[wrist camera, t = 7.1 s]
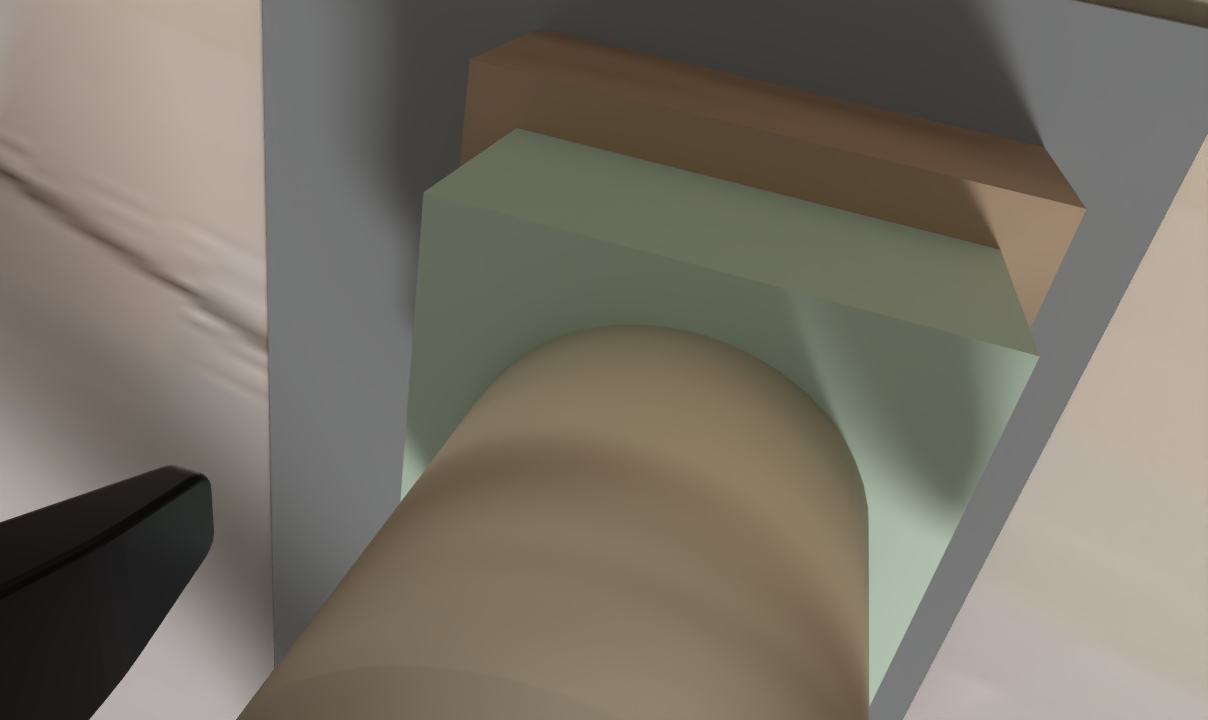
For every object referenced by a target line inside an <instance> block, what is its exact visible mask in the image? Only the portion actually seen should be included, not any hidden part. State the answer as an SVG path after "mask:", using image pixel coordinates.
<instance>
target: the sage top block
mask: <svg viewBox="0 0 1208 720" xmlns="http://www.w3.org/2000/svg"><path fill="white" fill-rule="evenodd" d="M611 325H649V326H659V327H670V328H675V329H679V330H684V331H688V332H693V333H698V334H701V335H704V336H707V337H710V338H713V339H716V340H719V341H722V342H725V343H728V344H730V345H732V346H734V347H736V348H739V349H741V350H743V351H745V352H747V353H749V354H751V355H753V356H755V357H757V358H759V359H760V360H762V361H764V362H765V363H767V364H768V365H770V366H772V367H773V368H775V369H776V370H778V371H779V372H781V373H783V374H784V375H785V376H786V377H788V378H789V379H790V380H791V381H792V382H794V383H795V384H796V385H797V386H799V387H800V388H801V389H802V390H803V391H805V392H806V393H807V394H808V395H809V396H810V397H811V398H812V399H813V400H814V402H815V403H816V404H817V405H818V406H819V407H820V408H821V409H822V410H823V411H824V412H825V413H826V414H827V416H828V417H829V418H830V420H831V421H832V423H833V424H834V425H835V427H836V428H837V429H838V431H839V432H840V434H841V435H842V436H843V438H844V440H845V442H846V444H847V446H848V448H849V449H850V451H851V453H852V455H853V457H854V459H855V461H856V464H857V467H858V470H859V472H860V475H861V478H862V481H863V484H864V488H865V494H866V499H867V505H868V521H869V707H870V705H871V702H872V700H873V698H874V696H875V694H876V692H877V690H878V688H879V686H880V684H881V682H882V680H883V678H884V676H885V674H886V672H887V670H888V668H889V665H890V663H891V661H892V659H893V657H894V655H895V653H896V651H897V649H898V647H899V645H900V643H901V641H902V639H903V637H904V635H905V633H906V631H907V628H908V626H909V624H910V622H911V620H912V618H913V616H914V614H915V612H916V610H917V608H918V606H919V604H920V602H921V600H922V598H923V596H924V594H925V591H926V589H927V587H928V585H929V583H930V581H931V579H932V577H933V575H934V573H935V571H936V569H937V567H938V565H939V563H940V561H941V559H942V557H943V554H944V552H945V550H946V548H947V546H948V544H949V542H950V540H951V538H952V536H953V534H954V532H955V530H956V528H957V526H958V524H959V522H960V520H961V517H962V515H963V513H964V511H965V509H966V507H967V505H968V503H969V501H970V499H971V497H972V495H973V493H974V491H975V489H976V487H977V485H978V483H979V480H980V478H981V476H982V474H983V472H984V470H985V468H986V466H987V464H988V462H989V460H990V458H991V456H992V454H993V452H994V450H995V448H996V446H997V443H998V441H999V439H1000V437H1001V435H1002V433H1003V431H1004V429H1005V427H1006V425H1007V423H1008V421H1009V419H1010V417H1011V415H1012V413H1013V411H1014V409H1015V406H1016V404H1017V402H1018V400H1019V398H1020V396H1021V394H1022V392H1023V390H1024V388H1025V386H1026V384H1027V382H1028V380H1029V378H1030V376H1031V374H1032V372H1033V369H1034V367H1035V365H1036V363H1037V361H1038V359H1039V357H1040V356H1039V353H1038V350H1037V347H1036V345H1035V342H1034V339H1033V337H1032V334H1031V331H1030V328H1029V326H1028V323H1027V320H1026V318H1025V315H1024V312H1023V309H1022V307H1021V304H1020V301H1019V299H1018V296H1017V293H1016V290H1015V288H1014V285H1013V282H1012V280H1011V277H1010V274H1009V271H1008V269H1007V266H1006V263H1005V261H1004V258H1003V255H1002V252H1001V250H1000V249H996V248H992V247H988V246H984V245H980V244H976V243H972V242H968V241H964V240H960V239H956V238H952V237H948V236H944V235H940V234H936V233H932V232H928V231H924V230H920V229H916V228H912V227H908V226H904V225H900V224H896V223H892V222H888V221H884V220H880V219H877V218H873V217H869V216H865V215H861V214H857V213H853V212H849V211H845V210H841V209H837V208H833V207H829V206H825V205H821V204H817V203H813V202H809V201H805V200H801V199H797V198H793V197H789V196H785V195H781V194H777V193H773V192H769V191H765V190H761V189H757V188H753V187H749V186H746V185H742V184H738V183H734V182H730V181H726V180H722V179H718V178H714V177H710V176H706V175H702V174H698V173H694V172H690V171H686V170H682V169H678V168H674V167H670V166H666V165H662V164H658V163H654V162H650V161H646V160H642V159H638V158H634V157H630V156H626V155H622V154H618V153H615V152H611V151H607V150H603V149H599V148H595V147H591V146H587V145H583V144H579V143H575V142H571V141H567V140H563V139H559V138H555V137H551V136H547V135H543V134H539V133H535V132H531V131H527V130H523V129H519V128H516V129H514V130H513V131H512V132H510V133H509V134H507V135H506V136H504V137H503V138H501V139H500V140H499V141H497V142H496V143H494V144H493V145H491V146H490V147H488V148H487V149H486V150H484V151H483V152H481V153H480V154H478V155H477V156H475V157H474V158H473V159H471V160H470V161H468V162H467V163H465V164H464V165H462V166H461V167H460V168H458V169H457V170H455V171H454V172H452V173H451V174H449V175H448V176H447V177H445V178H444V179H442V180H441V181H439V182H438V183H436V184H435V185H434V186H432V187H431V188H429V189H428V190H426V191H425V192H424V193H423V207H422V220H421V233H420V246H419V260H418V273H417V286H416V300H415V313H414V326H413V340H412V353H411V366H410V380H409V393H408V406H407V420H406V433H405V446H404V460H403V473H402V486H401V500H400V502H401V501H402V500H403V498H404V497H405V496H406V494H407V493H408V492H409V490H410V489H411V488H412V486H413V485H414V484H415V482H416V481H417V480H418V478H419V477H420V476H421V474H422V473H423V472H424V470H425V469H426V468H427V467H428V465H429V464H430V463H431V461H432V460H433V459H434V457H435V456H436V455H437V453H438V452H439V451H440V449H441V448H442V447H443V445H444V444H445V443H446V441H447V440H448V439H449V437H450V436H451V435H452V433H453V432H454V431H455V429H456V428H457V427H458V426H459V424H460V423H461V422H462V420H463V419H464V418H465V416H466V415H467V414H468V412H469V411H470V410H471V408H472V407H473V406H474V404H475V403H476V402H477V400H478V399H479V398H480V396H481V395H482V394H483V393H484V391H485V390H486V389H487V388H488V386H489V385H490V384H491V383H492V382H493V380H494V379H495V378H496V377H497V376H498V375H499V374H500V373H501V372H502V371H503V370H504V369H506V368H507V367H508V366H509V365H510V364H511V363H512V362H513V361H515V360H516V359H518V358H519V357H521V356H523V355H524V354H526V353H527V352H529V351H530V350H532V349H533V348H535V347H537V346H540V345H542V344H544V343H546V342H548V341H551V340H553V339H555V338H557V337H560V336H564V335H567V334H571V333H574V332H577V331H581V330H585V329H591V328H598V327H604V326H611Z"/></svg>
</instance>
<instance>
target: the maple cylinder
mask: <svg viewBox="0 0 1208 720" xmlns="http://www.w3.org/2000/svg"><path fill="white" fill-rule="evenodd" d="M236 720H869V521H868V505H867V499H866V494H865V488H864V484H863V481H862V478H861V475H860V472H859V470H858V467H857V464H856V461H855V459H854V457H853V455H852V453H851V451H850V449H849V448H848V446H847V444H846V442H845V440H844V438H843V436H842V435H841V434H840V432H839V431H838V429H837V428H836V427H835V425H834V424H833V423H832V421H831V420H830V418H829V417H828V416H827V414H826V413H825V412H824V411H823V410H822V409H821V408H820V407H819V406H818V405H817V404H816V403H815V402H814V400H813V399H812V398H811V397H810V396H809V395H808V394H807V393H806V392H805V391H803V390H802V389H801V388H800V387H799V386H797V385H796V384H795V383H794V382H792V381H791V380H790V379H789V378H788V377H786V376H785V375H784V374H783V373H781V372H779V371H778V370H776V369H775V368H773V367H772V366H770V365H768V364H767V363H765V362H764V361H762V360H760V359H759V358H757V357H755V356H753V355H751V354H749V353H747V352H745V351H743V350H741V349H739V348H736V347H734V346H732V345H730V344H728V343H725V342H722V341H719V340H716V339H713V338H710V337H707V336H704V335H701V334H698V333H693V332H688V331H684V330H679V329H675V328H670V327H659V326H649V325H611V326H604V327H598V328H591V329H585V330H581V331H577V332H574V333H571V334H567V335H564V336H560V337H557V338H555V339H553V340H551V341H548V342H546V343H544V344H542V345H540V346H537V347H535V348H533V349H532V350H530V351H529V352H527V353H526V354H524V355H523V356H521V357H519V358H518V359H516V360H515V361H513V362H512V363H511V364H510V365H509V366H508V367H507V368H506V369H504V370H503V371H502V372H501V373H500V374H499V375H498V376H497V377H496V378H495V379H494V380H493V382H492V383H491V384H490V385H489V386H488V388H487V389H486V390H485V391H484V393H483V394H482V395H481V396H480V398H479V399H478V400H477V402H476V403H475V404H474V406H473V407H472V408H471V410H470V411H469V412H468V414H467V415H466V416H465V418H464V419H463V420H462V422H461V423H460V424H459V426H458V427H457V428H456V429H455V431H454V432H453V433H452V435H451V436H450V437H449V439H448V440H447V441H446V443H445V444H444V445H443V447H442V448H441V449H440V451H439V452H438V453H437V455H436V456H435V457H434V459H433V460H432V461H431V463H430V464H429V465H428V467H427V468H426V469H425V470H424V472H423V473H422V474H421V476H420V477H419V478H418V480H417V481H416V482H415V484H414V485H413V486H412V488H411V489H410V490H409V492H408V493H407V494H406V496H405V497H404V498H403V500H402V501H401V502H400V504H399V505H398V506H397V508H396V509H395V510H394V512H393V513H392V514H391V515H390V517H389V518H388V519H387V521H386V522H385V523H384V525H383V526H382V527H381V529H380V530H379V531H378V533H377V534H376V535H375V537H374V538H373V539H372V541H371V542H370V543H369V545H368V546H367V547H366V549H365V550H364V551H363V553H362V554H361V555H360V556H359V558H358V559H357V560H356V562H355V563H354V564H353V566H352V567H351V568H350V570H349V571H348V572H347V574H346V575H345V576H344V578H343V579H342V580H341V582H340V583H339V584H338V586H337V587H336V588H335V590H334V591H333V592H332V594H331V595H330V596H329V597H328V599H327V600H326V601H325V603H324V604H323V605H322V607H321V608H320V609H319V611H318V612H317V613H316V615H315V616H314V617H313V619H312V620H311V621H310V623H309V624H308V625H307V627H306V628H305V629H304V631H303V632H302V633H301V635H300V636H299V637H298V639H297V640H296V641H295V642H294V644H293V645H292V646H291V648H290V649H289V650H288V652H287V653H286V654H285V656H284V657H283V658H282V660H281V661H280V662H279V664H278V665H277V666H276V668H275V669H274V670H273V672H272V673H271V674H270V676H269V677H268V678H267V680H266V681H265V682H264V683H263V685H262V686H261V687H260V689H259V690H258V691H257V693H256V694H255V695H254V697H253V698H252V699H251V701H250V702H249V703H248V705H247V706H246V707H245V709H244V710H243V711H242V713H241V714H240V715H239V717H238V718H237V719H236Z"/></svg>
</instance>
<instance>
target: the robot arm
mask: <svg viewBox="0 0 1208 720" xmlns="http://www.w3.org/2000/svg"><path fill="white" fill-rule="evenodd" d="M213 536H214V526H213V510H212V493H211V484H210V481H209V480H208V478H207V477H206V476H204V475H203V474H201V473H198V472H195V471H191V470H188V469H185V468H182V467H179V466H173V465H170V466H165V467H161V468H158V469H155V470H152V471H149V472H147V473H144V474H141V475H138V476H135V477H132V478H129V479H126V480H123V481H120V482H117V483H114V484H111V485H108V486H106V487H103V488H100V489H97V490H94V491H91V492H88V493H85V494H82V495H79V496H76V497H73V498H70V499H67V500H65V501H62V502H59V503H56V504H53V505H50V506H47V507H44V508H41V509H38V510H35V511H32V512H29V513H26V514H23V515H21V516H18V517H15V518H12V519H9V520H6V521H3V522H0V720H89V719H90V718H91V717H92V716H93V714H94V713H95V712H96V711H97V710H98V708H99V707H100V706H101V705H102V704H103V702H104V701H105V700H106V699H107V698H108V696H109V695H110V694H111V693H112V691H113V690H114V689H115V688H116V686H117V685H118V684H119V683H120V681H121V680H122V679H123V677H124V676H125V675H126V673H127V672H128V671H129V669H130V668H131V666H132V665H133V664H134V662H135V661H136V660H137V658H138V657H139V655H140V654H141V652H142V651H143V649H144V648H145V646H146V645H147V643H148V642H149V640H150V639H151V637H152V636H153V634H154V633H155V632H156V630H157V629H158V627H159V626H160V624H161V623H162V621H163V620H164V618H165V617H166V615H167V614H168V612H169V611H170V609H171V608H172V606H173V605H174V603H175V602H176V600H177V599H178V597H179V596H180V594H181V593H182V591H183V590H184V588H185V587H186V585H187V584H188V583H189V581H190V580H191V578H192V577H193V575H194V574H195V572H196V571H197V569H198V568H199V566H200V565H201V563H202V562H203V560H204V559H205V557H206V555H207V554H208V552H209V550H210V547H211V544H212V541H213Z"/></svg>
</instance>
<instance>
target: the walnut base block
mask: <svg viewBox="0 0 1208 720" xmlns="http://www.w3.org/2000/svg"><path fill="white" fill-rule="evenodd" d="M516 128H519V129H523V130H527V131H531V132H535V133H539V134H543V135H547V136H551V137H555V138H559V139H563V140H567V141H571V142H575V143H579V144H583V145H587V146H591V147H595V148H599V149H603V150H607V151H611V152H615V153H618V154H622V155H626V156H630V157H634V158H638V159H642V160H646V161H650V162H654V163H658V164H662V165H666V166H670V167H674V168H678V169H682V170H686V171H690V172H694V173H698V174H702V175H706V176H710V177H714V178H718V179H722V180H726V181H730V182H734V183H738V184H742V185H746V186H749V187H753V188H757V189H761V190H765V191H769V192H773V193H777V194H781V195H785V196H789V197H793V198H797V199H801V200H805V201H809V202H813V203H817V204H821V205H825V206H829V207H833V208H837V209H841V210H845V211H849V212H853V213H857V214H861V215H865V216H869V217H873V218H877V219H880V220H884V221H888V222H892V223H896V224H900V225H904V226H908V227H912V228H916V229H920V230H924V231H928V232H932V233H936V234H940V235H944V236H948V237H952V238H956V239H960V240H964V241H968V242H972V243H976V244H980V245H984V246H988V247H992V248H996V249H1000V250H1001V252H1002V255H1003V258H1004V261H1005V263H1006V266H1007V269H1008V271H1009V274H1010V277H1011V280H1012V282H1013V285H1014V288H1015V290H1016V293H1017V296H1018V299H1019V301H1020V304H1021V307H1022V309H1023V312H1024V315H1025V318H1026V320H1027V323H1028V326H1029V328H1031V326H1032V324H1033V322H1034V320H1035V317H1036V315H1037V313H1038V311H1039V309H1040V307H1041V305H1042V303H1043V300H1044V298H1045V296H1046V294H1047V292H1048V290H1049V288H1050V286H1051V284H1052V281H1053V279H1054V277H1055V275H1056V273H1057V271H1058V269H1059V267H1060V264H1061V262H1062V260H1063V258H1064V256H1065V254H1066V252H1067V250H1068V247H1069V245H1070V243H1071V241H1072V239H1073V237H1074V235H1075V233H1076V230H1077V228H1078V226H1079V224H1080V222H1081V220H1082V218H1083V216H1084V214H1085V211H1086V207H1085V206H1084V204H1083V203H1082V201H1081V200H1080V198H1079V197H1078V195H1077V194H1076V193H1075V191H1074V190H1073V188H1072V187H1071V185H1070V184H1069V182H1068V181H1067V179H1066V178H1065V176H1064V175H1063V173H1062V172H1061V171H1060V169H1059V168H1058V166H1057V165H1056V163H1055V162H1054V160H1053V159H1052V157H1051V156H1050V154H1049V153H1048V151H1047V150H1046V149H1045V147H1042V146H1038V145H1034V144H1029V143H1025V142H1021V141H1017V140H1012V139H1008V138H1004V137H1000V136H995V135H991V134H987V133H982V132H978V131H974V130H970V129H965V128H961V127H957V126H953V125H948V124H944V123H940V122H936V121H931V120H927V119H923V118H919V117H914V116H910V115H906V114H902V113H897V112H893V111H889V110H885V109H880V108H876V107H872V106H868V105H863V104H859V103H855V102H851V101H846V100H842V99H838V98H833V97H829V96H825V95H821V94H816V93H812V92H808V91H804V90H799V89H795V88H791V87H787V86H782V85H778V84H774V83H770V82H765V81H761V80H757V79H753V78H748V77H744V76H740V75H736V74H731V73H727V72H723V71H719V70H714V69H710V68H706V67H702V66H697V65H693V64H689V63H684V62H680V61H676V60H672V59H667V58H663V57H659V56H655V55H650V54H646V53H642V52H638V51H633V50H629V49H625V48H621V47H616V46H612V45H608V44H604V43H599V42H595V41H591V40H587V39H582V38H578V37H574V36H570V35H565V34H561V33H557V32H553V31H548V30H544V29H538V30H536V31H534V32H531V33H529V34H527V35H524V36H522V37H520V38H518V39H515V40H513V41H511V42H508V43H506V44H504V45H502V46H499V47H497V48H495V49H492V50H490V51H488V52H486V53H483V54H481V55H479V56H476V57H474V58H472V59H470V64H469V74H468V85H467V95H466V106H465V117H464V127H463V138H462V148H461V159H460V167H461V166H462V165H464V164H465V163H467V162H468V161H470V160H471V159H473V158H474V157H475V156H477V155H478V154H480V153H481V152H483V151H484V150H486V149H487V148H488V147H490V146H491V145H493V144H494V143H496V142H497V141H499V140H500V139H501V138H503V137H504V136H506V135H507V134H509V133H510V132H512V131H513V130H514V129H516Z"/></svg>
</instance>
